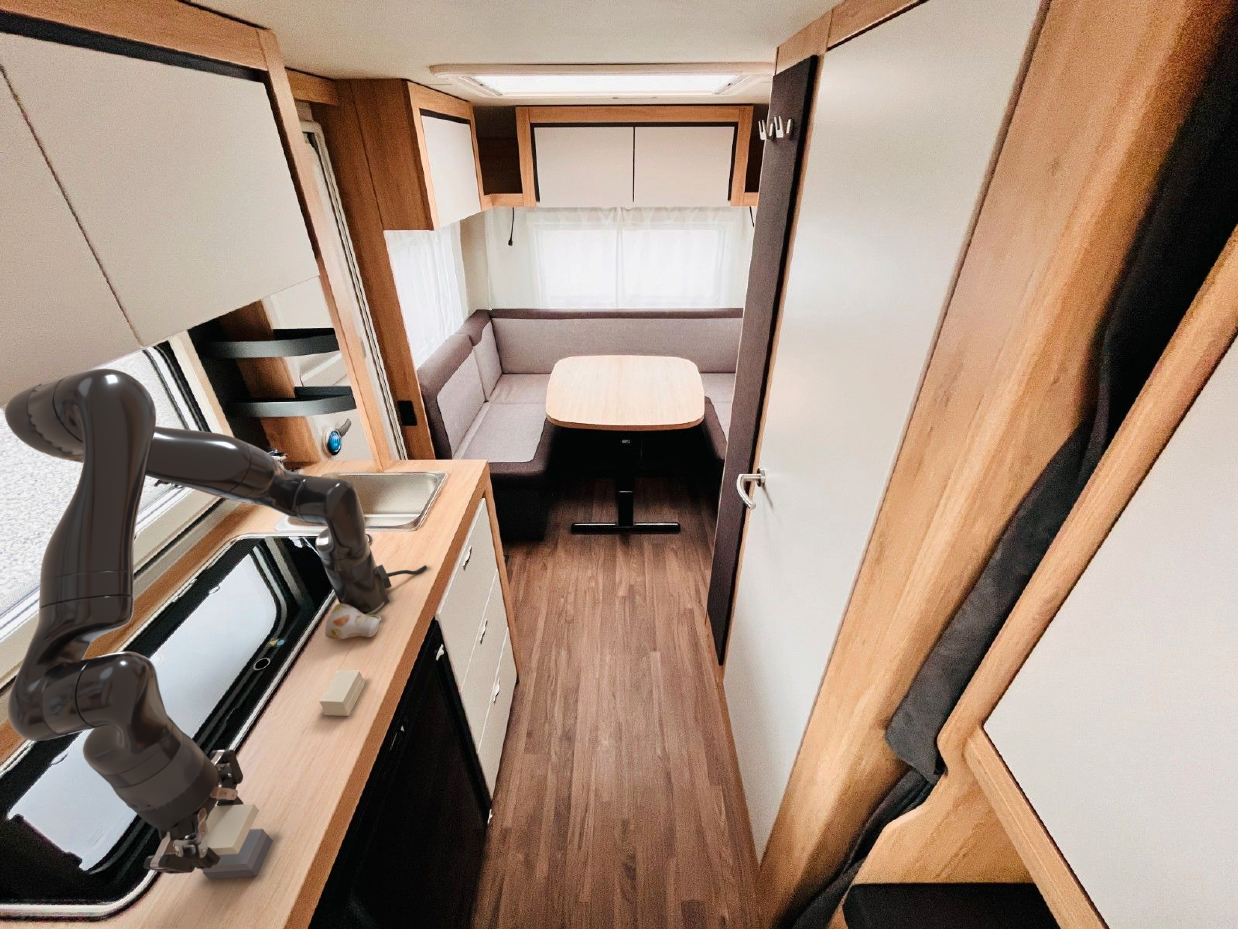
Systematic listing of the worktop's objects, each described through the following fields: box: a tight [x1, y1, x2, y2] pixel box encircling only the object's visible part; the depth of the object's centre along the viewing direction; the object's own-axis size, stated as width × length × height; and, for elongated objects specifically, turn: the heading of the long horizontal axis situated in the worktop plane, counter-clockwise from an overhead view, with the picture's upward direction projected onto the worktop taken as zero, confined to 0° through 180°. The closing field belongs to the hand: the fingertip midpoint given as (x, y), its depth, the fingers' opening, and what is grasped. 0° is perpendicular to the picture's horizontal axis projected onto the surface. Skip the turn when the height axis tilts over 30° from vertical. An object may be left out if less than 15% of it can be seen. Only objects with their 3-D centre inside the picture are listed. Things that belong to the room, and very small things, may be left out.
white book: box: [174, 803, 260, 857], centre depth 69 cm, size 8×5×2 cm
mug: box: [324, 603, 382, 640], centre depth 106 cm, size 8×10×10 cm
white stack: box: [318, 669, 366, 717], centre depth 94 cm, size 7×4×4 cm
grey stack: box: [200, 828, 273, 880], centre depth 73 cm, size 7×4×4 cm
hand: (224, 837), depth 70 cm, fingers closed on white book, 5 cm apart
